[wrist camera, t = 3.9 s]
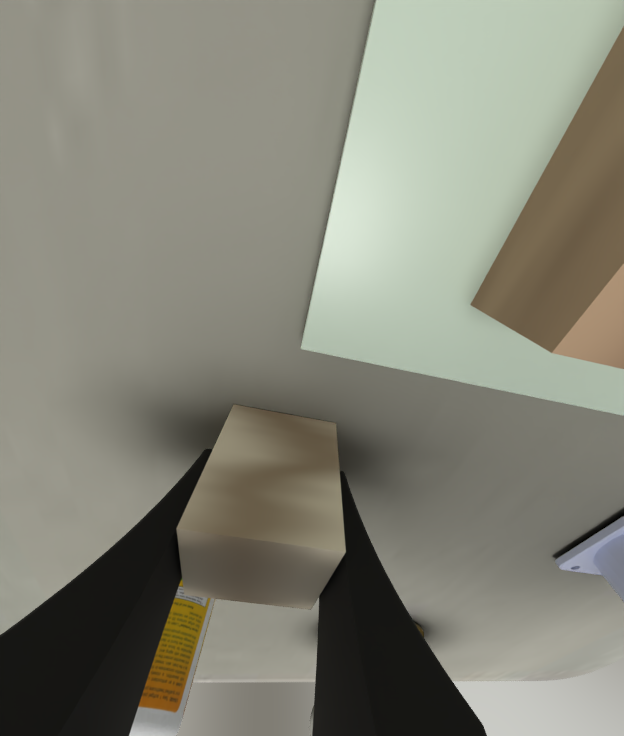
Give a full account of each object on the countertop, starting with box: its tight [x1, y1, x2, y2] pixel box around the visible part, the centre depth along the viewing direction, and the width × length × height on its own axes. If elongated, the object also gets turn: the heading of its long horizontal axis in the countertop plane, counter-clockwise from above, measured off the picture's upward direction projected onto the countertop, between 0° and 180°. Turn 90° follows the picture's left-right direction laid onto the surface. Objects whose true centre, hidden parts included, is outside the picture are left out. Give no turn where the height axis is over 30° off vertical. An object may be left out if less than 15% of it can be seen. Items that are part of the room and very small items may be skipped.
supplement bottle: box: [129, 579, 215, 736], centre depth 16 cm, size 5×5×10 cm
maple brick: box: [176, 404, 346, 610], centre depth 10 cm, size 4×4×5 cm
